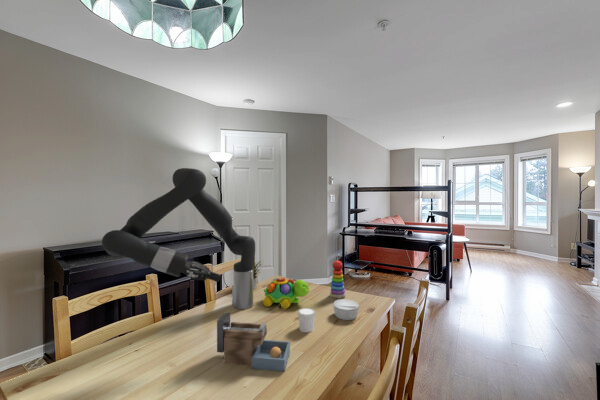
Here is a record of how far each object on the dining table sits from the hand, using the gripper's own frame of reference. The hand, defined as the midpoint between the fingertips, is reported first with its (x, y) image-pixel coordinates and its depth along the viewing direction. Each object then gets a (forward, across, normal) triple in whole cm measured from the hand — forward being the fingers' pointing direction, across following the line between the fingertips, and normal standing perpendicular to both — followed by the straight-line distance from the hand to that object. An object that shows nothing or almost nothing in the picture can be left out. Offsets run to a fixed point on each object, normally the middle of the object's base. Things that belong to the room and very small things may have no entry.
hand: (219, 278), depth 94 cm
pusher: (+15, -9, +16) cm, 24 cm away
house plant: (+28, +56, +16) cm, 64 cm away
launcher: (+17, -10, +18) cm, 27 cm away
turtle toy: (+39, +31, +10) cm, 51 cm away
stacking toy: (+64, +31, -2) cm, 71 cm away
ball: (+24, -14, +12) cm, 30 cm away
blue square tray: (+24, -13, +15) cm, 31 cm away
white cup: (+40, +3, +8) cm, 41 cm away
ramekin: (+58, +9, 0) cm, 59 cm away
